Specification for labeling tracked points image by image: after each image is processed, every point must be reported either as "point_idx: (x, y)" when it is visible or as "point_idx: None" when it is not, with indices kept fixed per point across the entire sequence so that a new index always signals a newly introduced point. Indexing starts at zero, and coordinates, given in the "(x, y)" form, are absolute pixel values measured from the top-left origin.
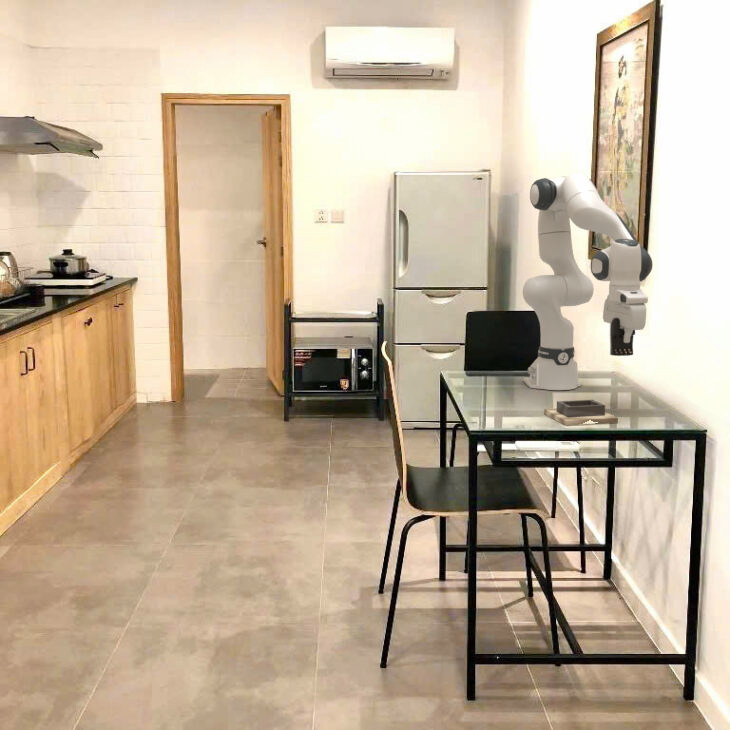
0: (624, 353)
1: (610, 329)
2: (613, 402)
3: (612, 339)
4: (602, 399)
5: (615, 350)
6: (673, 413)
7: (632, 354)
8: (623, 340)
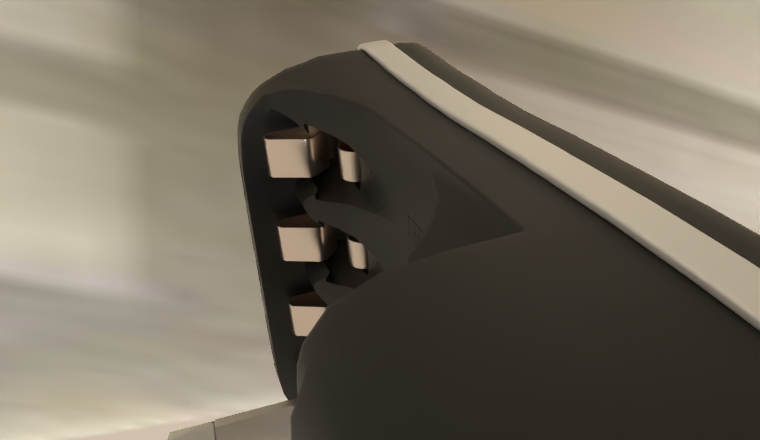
0: (265, 284)
1: (757, 305)
2: (598, 78)
3: (443, 189)
4: (697, 29)
5: (340, 156)
6: (242, 361)
7: (287, 390)
8: (231, 438)
